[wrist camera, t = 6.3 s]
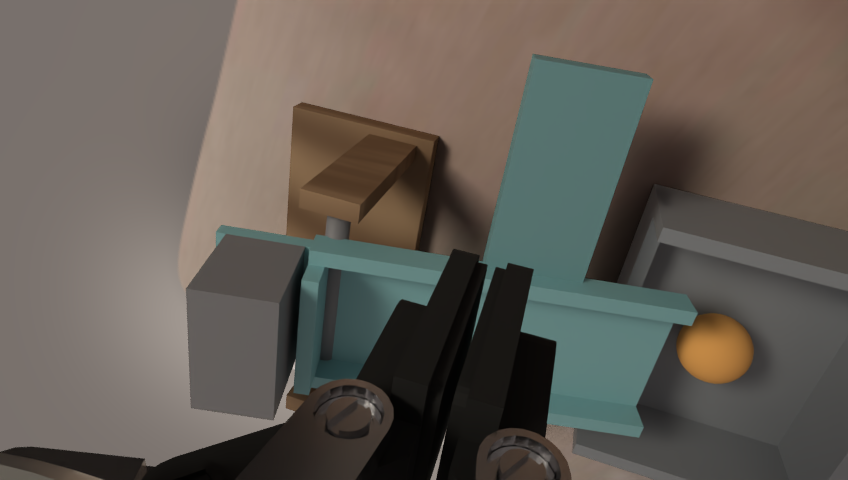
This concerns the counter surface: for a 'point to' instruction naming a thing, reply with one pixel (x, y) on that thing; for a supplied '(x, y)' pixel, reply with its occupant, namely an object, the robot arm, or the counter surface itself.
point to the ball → (715, 348)
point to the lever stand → (357, 181)
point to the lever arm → (420, 271)
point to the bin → (772, 340)
